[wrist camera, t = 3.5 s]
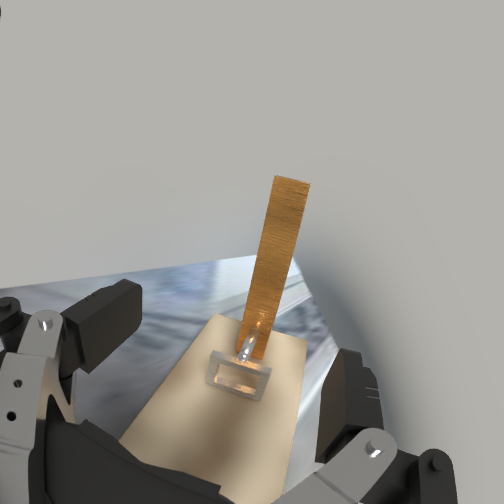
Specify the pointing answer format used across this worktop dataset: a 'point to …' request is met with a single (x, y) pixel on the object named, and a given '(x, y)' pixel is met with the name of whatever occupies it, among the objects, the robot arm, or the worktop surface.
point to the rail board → (224, 417)
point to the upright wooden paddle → (265, 287)
